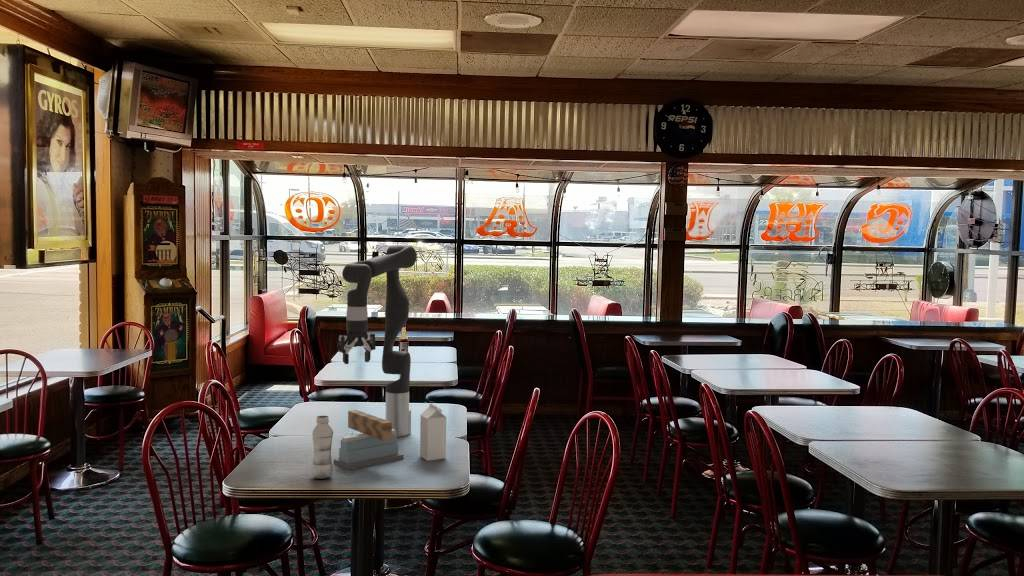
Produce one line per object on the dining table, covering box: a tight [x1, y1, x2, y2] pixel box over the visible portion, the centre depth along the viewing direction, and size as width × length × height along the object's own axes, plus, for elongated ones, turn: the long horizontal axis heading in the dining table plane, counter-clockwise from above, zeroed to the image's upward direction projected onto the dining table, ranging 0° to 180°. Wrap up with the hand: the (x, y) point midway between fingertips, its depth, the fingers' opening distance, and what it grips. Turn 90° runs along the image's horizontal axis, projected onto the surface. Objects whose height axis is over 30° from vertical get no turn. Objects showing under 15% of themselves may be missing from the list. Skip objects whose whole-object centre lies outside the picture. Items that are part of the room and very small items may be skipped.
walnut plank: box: [347, 409, 392, 441], centre depth 272 cm, size 24×3×6 cm, turn 41°
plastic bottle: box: [311, 415, 334, 480], centre depth 251 cm, size 6×7×20 cm
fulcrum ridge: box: [333, 429, 405, 471], centre depth 272 cm, size 22×10×10 cm, turn 131°
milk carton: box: [419, 402, 447, 462], centre depth 277 cm, size 7×7×19 cm
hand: (356, 362), depth 285 cm, fingers open, 8 cm apart
